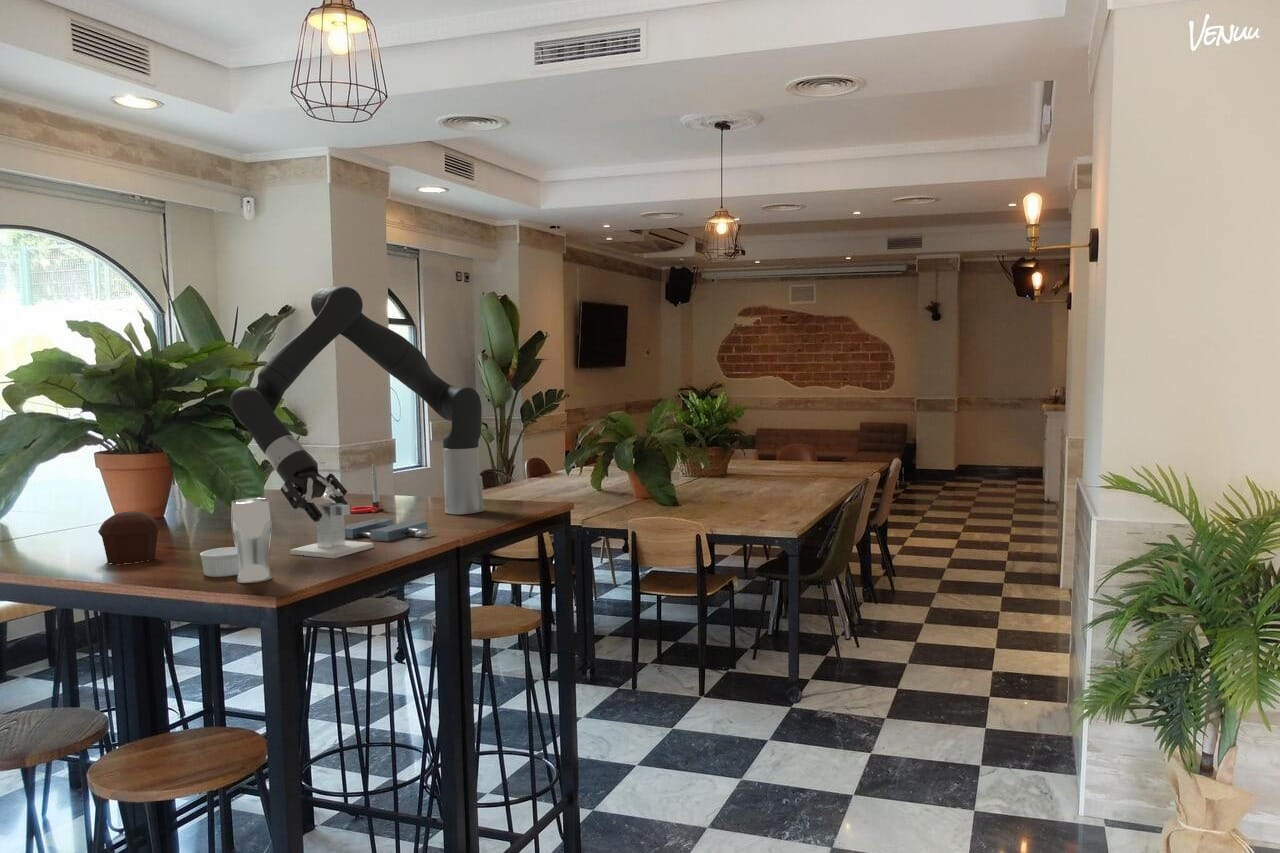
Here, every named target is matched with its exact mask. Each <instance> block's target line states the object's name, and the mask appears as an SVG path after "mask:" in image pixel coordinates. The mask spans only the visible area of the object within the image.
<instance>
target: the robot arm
mask: <svg viewBox="0 0 1280 853" xmlns="http://www.w3.org/2000/svg"><path fill="white" fill-rule="evenodd" d="M310 304H311V305H310V307H311V310H312V313H313V315H314V316H315V318H314V320H313V321H312V322H311V323H310V324H309V325H307V326H306V328H304V329H303V330H302V331H301V332H300V333H299V334H297V335H296V336H294V337H293V338H292V339H291V340H289V341H288V342H286V344H284V345H283V346H282V347H281V348H280V349H279V350H278V351H276V352H275V354H274V353H273V354H274V355H272V357H271V358H270V359H269V360H268V361H267V362H266V363H265V365H264V366H263V367H262V368H261V370H259V371H258V374H257V384H256V386H255V388H254V387H251V386H241V387H238V388H237V389H235V390H234V391H233V392H231V395H230V398H229V407H230V410H231V412H232V413H233V414H234V416H235V417H236V419H237V420H238V422H239V423H240V424H241V425H242V426H244V427H245V428H246V429H247V430H248V432H249V433H250V434H251V436H252V437H253V440H254V442H255V443H256V444H257V446H258V447H259V448H260V450H261V451H262V452H263V454H264V455H265V456H266V458H267V460H268V462H269V463H270V465H271V466H272V467H273V469H274V470H275V471H276V473H277V474H278V476H279V477H280V479H282V481H283V482H284V483H283V485H282V486H281V488H280V491H281V492H282V494H283V495H284V496H285V498H286V500H287V502H289V504H290V506H291V507H292V508H293V509H294V510H297V509H298V508H299V509H301V510H302V511H304V512H305V513H306V514H307V515H308V516H309V518H310V519H311V520H312V521H313V522H315V523H317V521H319V520H320V519H321V517H322V513H321V512H320V511H319V510H318V508H317V507H316V505H315V503H314V502H312V499H314V498H321V499H323V500H329V501H330V502H331V503H341V504H345V505H349V503H348V502H347V501H346V499H345V498H344V497H345V496H346V494H347V493H348V490H347V488H346V487H345V486H344V485H343V484H342V483H341V482H340V481H339V480H338V478H337V477H336V476H335V475H334V474H333V473H331V472H330V473H328V475H326V476H323V475H321V474H320V473H319V467H318V466H319V465H318V464H317V463H316V461H315V460H314V459H313V457H311V455H310V454H309V452H308V451H307V450H306V448H304V446H303V445H302V443H300V441H298V440H297V438H295V437H294V436H293V434H292V433H291V432H290V430H289V429H288V427H287V426H286V425H285V424H284V423H283V422H282V421H281V420H280V419H279V417H277V415H276V413H275V411H276V409H277V407H278V406H279V403H280V402H281V400H282V398H283V396H284V395H285V393H286V391H287V390H288V388H290V386H291V385H292V384H293V383H294V382H295V381H296V380H297V378H298V377H299V376H300V375H301V374H302V373H303V371H304V370H305V369H306V368H307V367H308V366H309V364H310V363H312V362H313V360H315V358H316V357H317V356H318V355H319V354H320V353H321V352H322V351H323V350H324V349H325V348H326V347H327V346H328V345H329V344H331V342H332V341H333V340H334V339H336V338H337V337H338V336H339V335H341V336H342V337H344V338H346V339H347V340H349V341H350V342H351V343H352V344H354V345H355V346H356V347H357V348H358V349H359V350H361V352H363V353H364V354H365V355H367V357H369V358H370V359H371V360H373V362H375V363H376V364H378V366H380V367H381V368H382V369H383V370H384V371H386V372H387V373H388V374H389V375H391V376H393V378H395V379H397V380H398V381H400V383H401V384H403V385H404V386H405V387H406V388H408V389H410V390H411V391H412V392H413V393H414V394H416V395H418V396H419V397H420V398H421V399H422V400H423V401H424V402H425V403H426V404H427V405H428V406H429V407H430V408H432V410H433V411H434V412H435V413H436V414H437V415H439V417H440V418H442V419H444V420H446V421H449V422H451V429H450V432H449V433H448V434H447V435H446V436H444V437H443V439H442V455H443V460H442V461H443V484H444V511H445V514H447V515H470V514H477V513H480V512H484V501H483V500H484V497H483V494H484V493H483V476H482V475H480V456H479V454H480V452H479V441H480V438H481V435H482V415H483V414H482V413H483V412H482V410H483V409H482V408H483V407H482V400H481V398H480V397H481V396H480V395H479V393H478V392H477V390H475V389H474V388H472V387H470V386H454V385H451V384H449V383H447V382H446V381H445V380H443V378H440V377H439V376H438V375H437V374H435V373H434V371H433V370H432V369H431V367H430V365H429V362H428V361H427V359H426V357H425V356H424V354H423V353H422V351H421V350H420V349H418V348H417V347H416V346H415V345H414V344H412V343H411V342H410V341H409V340H408V339H406V338H405V337H403V336H402V335H401V334H399V333H397V332H396V331H394V330H392V329H390V328H388V327H386V326H385V325H382V324H380V323H378V322H376V321H374V320H372V319H370V318H369V317H367V316H366V315H365V314H363V312H362V311H363V306H364V305H363V299H362V297H361V294H360V293H359V292H358V291H357V290H356V289H354V288H352V287H349V286H343V285H332V286H324V287H322V288H319V289H317V290H316V291H315V292H314V293H313V294H312V296H311V300H310ZM326 489H328V490H327V491H326ZM332 494H333V495H332ZM351 508H352V507H350V511H351ZM345 516H346V515H344V517H345Z"/></svg>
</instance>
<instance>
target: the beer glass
mask: <svg viewBox="0 0 1280 853" xmlns="http://www.w3.org/2000/svg"><path fill="white" fill-rule="evenodd" d="M230 519H231V520H230V522H231V525H230V526H231V532H232V539H233V542H234V543H233V544H234V547H236V551H237V556H238V574H237V575H236V582H237V583H240V584H258V583H263V582H267V581H270V580H271V579H272V578H273V575H272V571H271V568H270V561H269V555H270V554H269V553H270V546H271V545H270V544H271V537H272V529H273V528H272V526H273V524H272V521H273V520H272V511H271V503H270V499H269V498H266V497H249V498H248V497H247V498H239V499H234V500H232V501H231V517H230Z"/></svg>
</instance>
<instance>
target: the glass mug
mask: <svg viewBox="0 0 1280 853" xmlns="http://www.w3.org/2000/svg"><path fill="white" fill-rule="evenodd" d="M315 506H316V507H317V508H318V510H319V511H320V512H321V513H322V517H321V519H320V520H319V521H317V522H316V539H317V542H316V543H317V544H318V547H321V548H331V549H332V548H336V547H340V546H344V545H345V541H346V538H345V526H346V525H345V516H347V515H351V513H350V508H351V505H350V504H348V505H345V504H341V503H334V502H327V503H322V504H318V505H317V504H316V505H315ZM344 515H345V516H344Z"/></svg>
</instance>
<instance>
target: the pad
mask: <svg viewBox="0 0 1280 853" xmlns="http://www.w3.org/2000/svg"><path fill="white" fill-rule="evenodd" d="M373 548H374V543H373V542H364V541H355V540H354V541H353V540H345V545H344V546H340V547H336V548H332V549H331V548H321V547H318V544H317V542H316V543H310V544H306V545H303V546H299V547H296V548H291V549H290V555H292V556H293V555H294V556H295V555H296V556H303V555H304V556H306V557H315V558H326V559H327V558H328V559H337V558H341V557H345V556H348V555H351V554H356V553H358V552H363V551H366V550H369V549H373Z"/></svg>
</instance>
